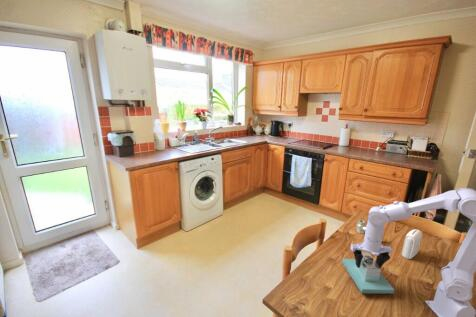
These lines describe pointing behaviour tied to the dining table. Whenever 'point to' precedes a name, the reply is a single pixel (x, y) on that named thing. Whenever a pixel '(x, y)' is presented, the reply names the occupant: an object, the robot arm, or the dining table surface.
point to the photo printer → (411, 244)
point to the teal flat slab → (367, 286)
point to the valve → (361, 226)
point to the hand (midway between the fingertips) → (367, 266)
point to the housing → (369, 268)
